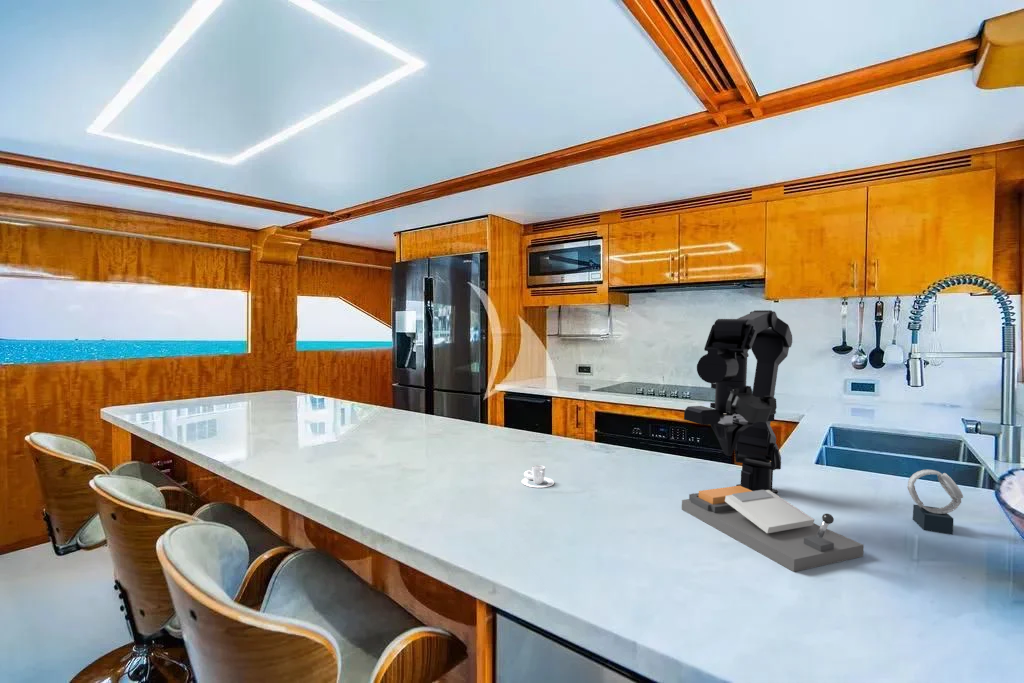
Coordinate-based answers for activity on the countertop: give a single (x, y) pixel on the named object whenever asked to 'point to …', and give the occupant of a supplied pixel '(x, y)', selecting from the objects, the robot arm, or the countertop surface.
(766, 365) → the robot arm
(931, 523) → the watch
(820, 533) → the toggle lever
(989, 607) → the countertop surface
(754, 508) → the rocker switch
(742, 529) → the panel
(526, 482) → the teacup and saucer
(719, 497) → the push button
